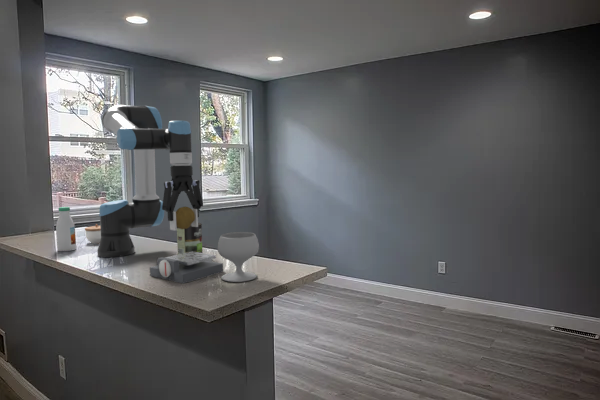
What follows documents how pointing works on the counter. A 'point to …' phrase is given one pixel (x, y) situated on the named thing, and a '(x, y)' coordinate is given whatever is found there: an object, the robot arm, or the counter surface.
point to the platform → (191, 257)
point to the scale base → (184, 270)
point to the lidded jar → (93, 234)
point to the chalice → (238, 253)
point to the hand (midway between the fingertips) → (184, 228)
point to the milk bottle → (65, 231)
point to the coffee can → (189, 239)
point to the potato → (184, 217)
